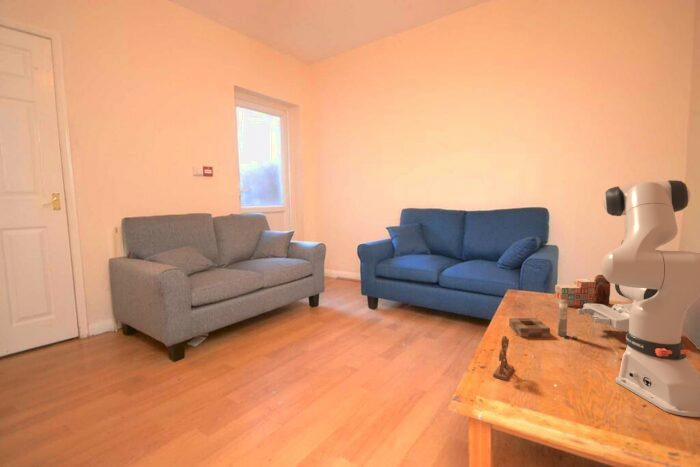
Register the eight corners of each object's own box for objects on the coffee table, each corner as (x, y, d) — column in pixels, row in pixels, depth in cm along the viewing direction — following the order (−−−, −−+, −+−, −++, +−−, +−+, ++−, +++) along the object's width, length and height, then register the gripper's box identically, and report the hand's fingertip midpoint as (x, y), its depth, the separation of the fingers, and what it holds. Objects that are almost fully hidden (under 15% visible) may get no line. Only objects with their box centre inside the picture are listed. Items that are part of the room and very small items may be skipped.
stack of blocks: (560, 306, 164) (561, 281, 163) (554, 302, 171) (555, 278, 169) (606, 306, 162) (608, 281, 161) (598, 302, 169) (599, 278, 167)
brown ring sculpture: (505, 380, 100) (506, 342, 99) (492, 376, 103) (493, 339, 101) (513, 368, 107) (514, 333, 106) (501, 365, 109) (501, 330, 108)
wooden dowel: (567, 336, 129) (569, 301, 128) (560, 336, 129) (561, 301, 128) (563, 333, 132) (565, 299, 131) (556, 333, 132) (557, 299, 131)
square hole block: (549, 336, 130) (550, 328, 129) (520, 337, 130) (520, 328, 130) (535, 326, 140) (536, 318, 140) (509, 326, 141) (509, 318, 141)
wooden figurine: (591, 308, 159) (593, 271, 157) (608, 311, 155) (610, 273, 154) (591, 316, 150) (593, 277, 148) (609, 318, 146) (611, 278, 144)
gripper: (604, 299, 138) (570, 299, 139) (645, 316, 118) (604, 316, 119) (604, 314, 139) (569, 314, 140) (644, 333, 119) (603, 333, 120)
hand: (585, 315), depth 129 cm, fingers open, 8 cm apart
